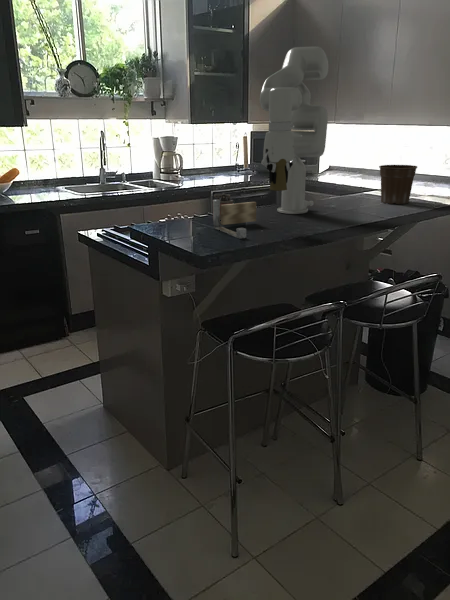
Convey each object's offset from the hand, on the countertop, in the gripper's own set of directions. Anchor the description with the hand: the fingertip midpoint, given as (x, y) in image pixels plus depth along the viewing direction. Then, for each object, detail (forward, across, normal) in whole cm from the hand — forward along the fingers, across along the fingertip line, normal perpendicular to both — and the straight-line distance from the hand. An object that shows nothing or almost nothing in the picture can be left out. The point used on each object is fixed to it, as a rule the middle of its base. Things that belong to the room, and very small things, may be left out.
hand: (278, 182), depth 178 cm
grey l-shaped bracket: (+16, +19, -3) cm, 25 cm away
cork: (+3, 0, 0) cm, 3 cm away
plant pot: (+18, -76, -18) cm, 81 cm away
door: (+15, +10, -12) cm, 22 cm away
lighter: (+17, +10, -23) cm, 30 cm away
